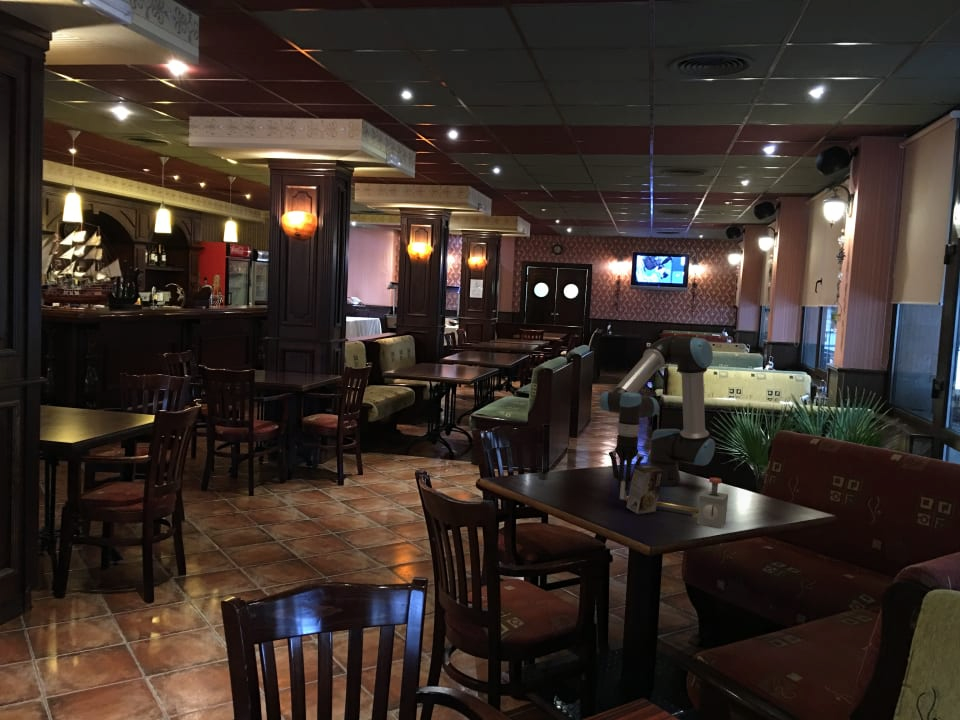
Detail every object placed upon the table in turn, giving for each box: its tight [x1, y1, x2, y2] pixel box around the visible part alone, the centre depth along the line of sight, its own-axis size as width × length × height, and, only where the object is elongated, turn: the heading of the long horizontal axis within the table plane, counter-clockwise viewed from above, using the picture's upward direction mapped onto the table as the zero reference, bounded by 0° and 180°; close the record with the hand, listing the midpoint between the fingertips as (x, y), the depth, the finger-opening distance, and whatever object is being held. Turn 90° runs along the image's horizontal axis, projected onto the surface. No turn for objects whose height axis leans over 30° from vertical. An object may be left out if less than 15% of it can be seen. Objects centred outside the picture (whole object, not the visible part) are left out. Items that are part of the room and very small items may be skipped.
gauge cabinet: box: [697, 490, 729, 529], centre depth 264 cm, size 11×8×10 cm
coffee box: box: [626, 464, 663, 515], centre depth 273 cm, size 9×6×16 cm
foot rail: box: [624, 495, 699, 518], centre depth 278 cm, size 30×2×3 cm, turn 63°
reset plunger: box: [709, 477, 722, 494], centre depth 264 cm, size 4×4×5 cm
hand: (622, 498), depth 278 cm, fingers closed
